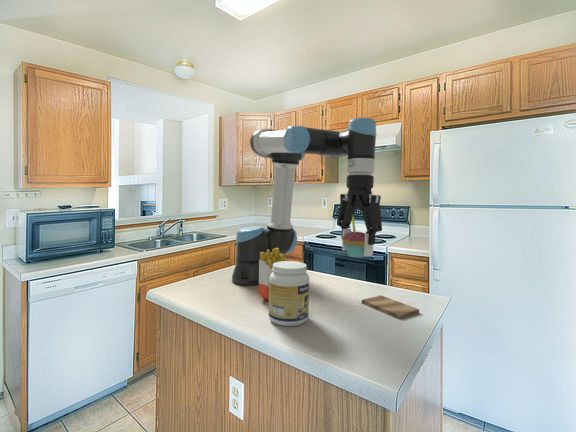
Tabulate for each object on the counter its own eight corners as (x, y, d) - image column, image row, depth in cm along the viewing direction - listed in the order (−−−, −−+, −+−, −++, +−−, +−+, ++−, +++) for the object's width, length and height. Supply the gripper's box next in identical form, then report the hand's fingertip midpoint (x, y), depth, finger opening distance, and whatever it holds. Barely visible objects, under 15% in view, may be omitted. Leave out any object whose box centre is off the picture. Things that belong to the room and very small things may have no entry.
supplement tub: (303, 330, 87) (304, 270, 86) (262, 324, 90) (263, 267, 89) (311, 314, 99) (313, 261, 97) (275, 309, 102) (276, 258, 101)
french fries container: (288, 296, 115) (289, 248, 113) (267, 304, 107) (268, 252, 105) (279, 293, 118) (280, 247, 116) (258, 300, 110) (259, 250, 108)
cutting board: (361, 303, 109) (361, 299, 109) (380, 298, 115) (380, 295, 115) (399, 319, 96) (399, 315, 96) (419, 312, 101) (419, 309, 101)
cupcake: (336, 255, 90) (337, 214, 89) (351, 251, 96) (353, 213, 95) (362, 260, 84) (364, 216, 83) (377, 256, 90) (379, 215, 89)
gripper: (326, 175, 95) (323, 247, 97) (380, 172, 77) (375, 261, 79) (344, 176, 99) (341, 245, 101) (399, 174, 81) (395, 259, 83)
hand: (356, 252), depth 90 cm, fingers closed on cupcake, 8 cm apart
